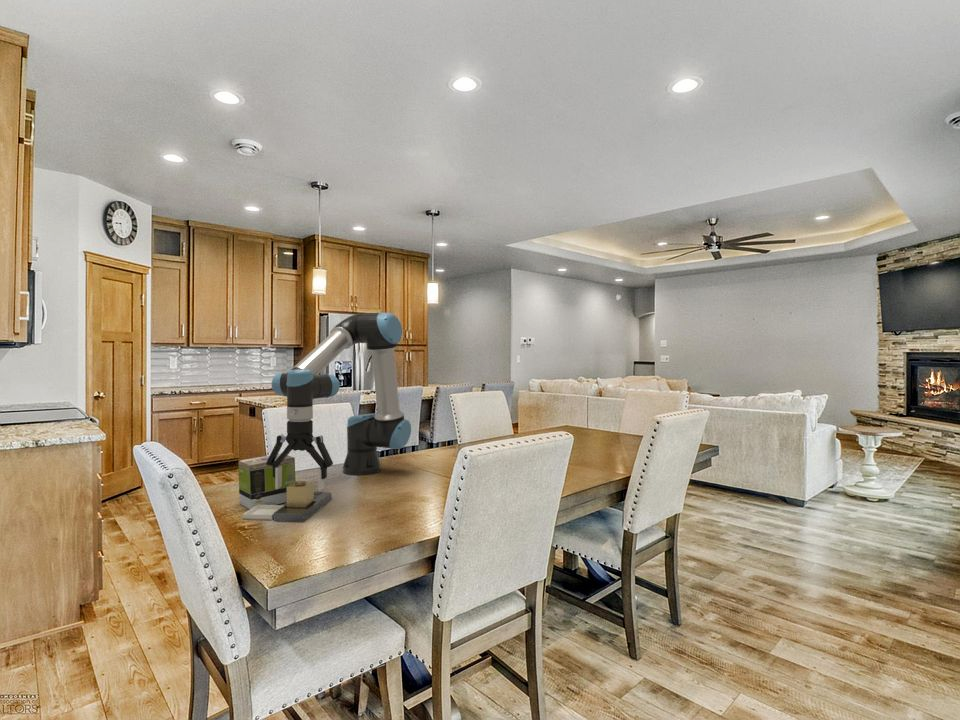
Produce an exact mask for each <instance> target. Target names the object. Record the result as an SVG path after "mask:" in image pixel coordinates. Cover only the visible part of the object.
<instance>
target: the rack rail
mask: <svg viewBox="0 0 960 720" xmlns="http://www.w3.org/2000/svg"><path fill="white" fill-rule="evenodd" d="M332 498H333V497H332V492H331V491H314V504H313V505H312V506H311V507H309V508H308V509H291V508H287V503H286V504H284V506H283V507H282V508H280V509H279V510H277V511H276V512H274V519H273V521H274V522H285V523H286V522H288V523H289V522H290V523H291V522H292V523H305V522H306V521H307V520H308V519H309V518H310V517H312V516H313V515H314V514H316V513H317V512H318V511H319V510H321V509H322V508H324V507H325V506H326V505H327V504H328V503H329V502H331V500H332Z"/></svg>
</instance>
